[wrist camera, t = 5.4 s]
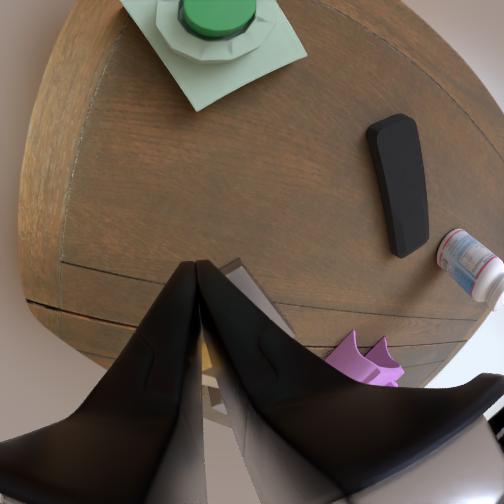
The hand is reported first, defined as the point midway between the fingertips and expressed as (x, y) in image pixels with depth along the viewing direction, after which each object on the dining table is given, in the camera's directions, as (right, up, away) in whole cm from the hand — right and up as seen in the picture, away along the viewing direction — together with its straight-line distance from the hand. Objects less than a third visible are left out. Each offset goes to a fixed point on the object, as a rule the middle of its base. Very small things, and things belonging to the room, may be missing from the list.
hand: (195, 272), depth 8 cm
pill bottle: (+28, +2, +22) cm, 36 cm away
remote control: (+16, +7, +16) cm, 24 cm away
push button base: (-1, +16, +5) cm, 16 cm away
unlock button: (0, +14, +2) cm, 14 cm away
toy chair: (+17, -13, +29) cm, 36 cm away
